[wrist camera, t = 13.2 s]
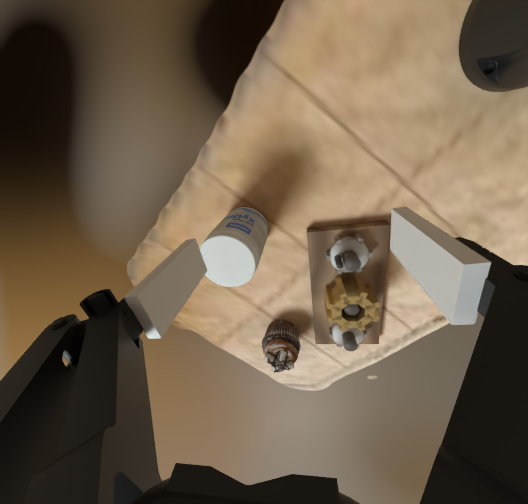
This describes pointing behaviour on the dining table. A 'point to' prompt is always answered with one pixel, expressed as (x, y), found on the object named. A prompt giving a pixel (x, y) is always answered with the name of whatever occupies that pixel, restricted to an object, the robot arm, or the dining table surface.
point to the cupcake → (281, 345)
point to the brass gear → (350, 294)
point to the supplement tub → (235, 247)
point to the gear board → (347, 275)
